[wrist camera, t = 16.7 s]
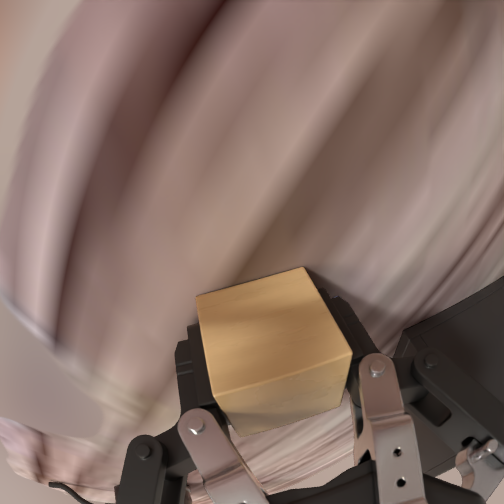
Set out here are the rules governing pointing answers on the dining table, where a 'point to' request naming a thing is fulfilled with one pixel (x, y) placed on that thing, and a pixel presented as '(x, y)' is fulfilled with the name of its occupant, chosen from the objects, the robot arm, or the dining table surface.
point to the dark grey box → (460, 358)
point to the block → (272, 351)
